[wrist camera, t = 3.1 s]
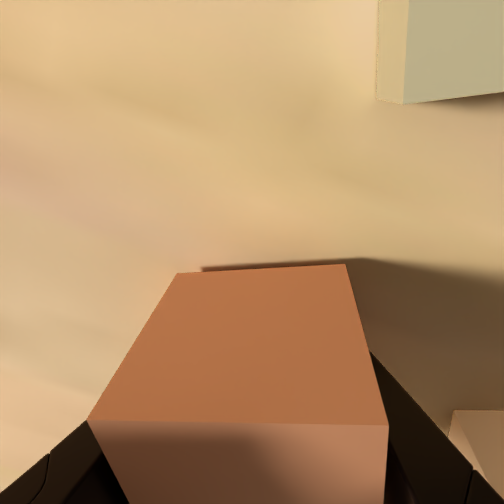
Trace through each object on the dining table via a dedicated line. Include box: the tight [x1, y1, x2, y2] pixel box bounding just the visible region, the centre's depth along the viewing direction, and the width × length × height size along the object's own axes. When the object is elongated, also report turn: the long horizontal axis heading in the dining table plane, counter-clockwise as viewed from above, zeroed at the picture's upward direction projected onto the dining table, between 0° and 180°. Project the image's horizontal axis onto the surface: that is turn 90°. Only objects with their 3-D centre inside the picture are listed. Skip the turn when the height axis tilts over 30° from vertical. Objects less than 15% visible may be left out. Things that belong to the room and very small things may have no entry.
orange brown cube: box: [87, 264, 389, 504], centre depth 8 cm, size 4×4×4 cm
